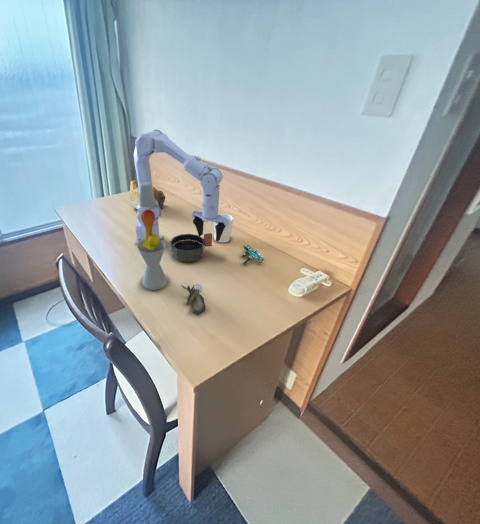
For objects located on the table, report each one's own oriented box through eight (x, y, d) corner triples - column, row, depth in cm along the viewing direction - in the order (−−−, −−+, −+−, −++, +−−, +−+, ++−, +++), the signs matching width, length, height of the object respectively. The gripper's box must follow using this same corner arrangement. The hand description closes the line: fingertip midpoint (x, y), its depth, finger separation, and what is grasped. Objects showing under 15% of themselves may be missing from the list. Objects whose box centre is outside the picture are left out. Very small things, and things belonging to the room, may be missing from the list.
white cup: (230, 244, 118) (232, 222, 112) (211, 242, 119) (212, 221, 114) (231, 235, 124) (233, 214, 118) (213, 233, 126) (214, 213, 120)
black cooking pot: (173, 264, 105) (172, 246, 101) (169, 246, 116) (168, 229, 112) (215, 259, 107) (216, 242, 102) (207, 242, 118) (208, 226, 113)
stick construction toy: (268, 261, 102) (257, 246, 99) (255, 274, 102) (243, 260, 99) (252, 253, 113) (241, 239, 110) (239, 265, 113) (228, 252, 111)
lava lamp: (136, 283, 98) (122, 184, 78) (154, 271, 103) (145, 176, 84) (155, 293, 93) (145, 191, 73) (173, 280, 98) (168, 181, 79)
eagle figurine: (175, 295, 90) (181, 310, 82) (185, 276, 88) (193, 290, 80) (194, 303, 93) (202, 318, 85) (205, 285, 91) (214, 299, 83)
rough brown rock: (174, 213, 147) (175, 185, 139) (145, 219, 139) (144, 189, 132) (154, 201, 164) (153, 175, 157) (127, 205, 157) (125, 178, 149)
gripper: (187, 204, 101) (187, 237, 109) (223, 212, 94) (221, 247, 102) (197, 197, 106) (197, 229, 114) (232, 205, 99) (230, 239, 106)
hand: (209, 237), depth 108 cm, fingers open, 7 cm apart
